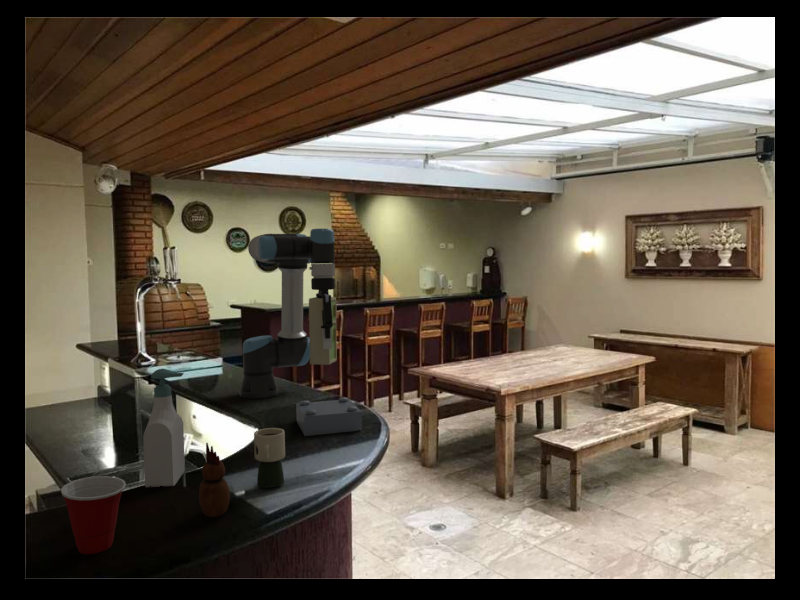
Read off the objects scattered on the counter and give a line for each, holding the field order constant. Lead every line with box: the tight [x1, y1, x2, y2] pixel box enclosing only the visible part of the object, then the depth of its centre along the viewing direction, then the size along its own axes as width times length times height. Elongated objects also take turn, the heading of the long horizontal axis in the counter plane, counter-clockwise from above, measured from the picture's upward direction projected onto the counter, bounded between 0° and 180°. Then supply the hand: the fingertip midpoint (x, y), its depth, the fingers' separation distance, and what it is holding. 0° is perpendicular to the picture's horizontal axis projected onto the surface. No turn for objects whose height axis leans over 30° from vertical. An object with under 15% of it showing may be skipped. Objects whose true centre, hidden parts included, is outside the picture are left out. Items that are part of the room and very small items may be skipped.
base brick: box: [295, 396, 363, 437], centre depth 191 cm, size 18×18×7 cm
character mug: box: [253, 427, 286, 489], centre depth 140 cm, size 11×7×13 cm, turn 4°
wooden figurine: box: [198, 442, 231, 518], centre depth 124 cm, size 7×6×15 cm
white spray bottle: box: [142, 368, 186, 488], centre depth 145 cm, size 11×8×27 cm
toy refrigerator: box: [308, 296, 338, 366], centre depth 189 cm, size 8×7×21 cm
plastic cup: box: [60, 475, 127, 555], centre depth 110 cm, size 11×11×12 cm
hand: (324, 346), depth 190 cm, fingers closed on toy refrigerator, 10 cm apart
